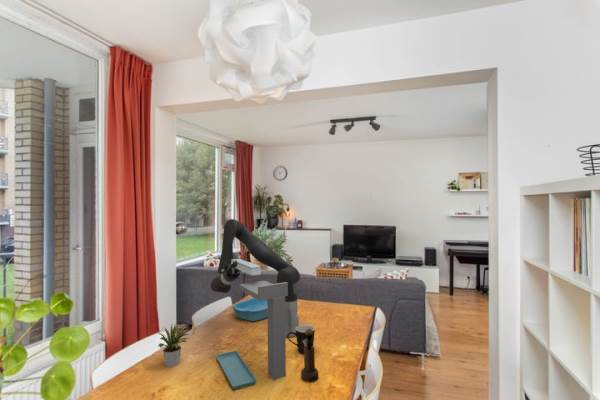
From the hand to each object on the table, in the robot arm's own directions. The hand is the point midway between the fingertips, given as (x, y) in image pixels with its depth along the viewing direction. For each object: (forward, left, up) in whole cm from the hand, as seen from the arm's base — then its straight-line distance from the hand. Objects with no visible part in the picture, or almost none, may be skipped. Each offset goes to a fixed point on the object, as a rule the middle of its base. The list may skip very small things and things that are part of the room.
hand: (241, 262), depth 148 cm
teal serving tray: (+5, +21, -40) cm, 45 cm away
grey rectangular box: (-1, +4, -3) cm, 6 cm away
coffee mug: (-25, +12, -39) cm, 48 cm away
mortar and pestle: (-21, +34, -39) cm, 56 cm away
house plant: (+30, +8, -39) cm, 50 cm away
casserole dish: (-17, -44, -39) cm, 61 cm away
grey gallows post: (-6, +22, -39) cm, 45 cm away
